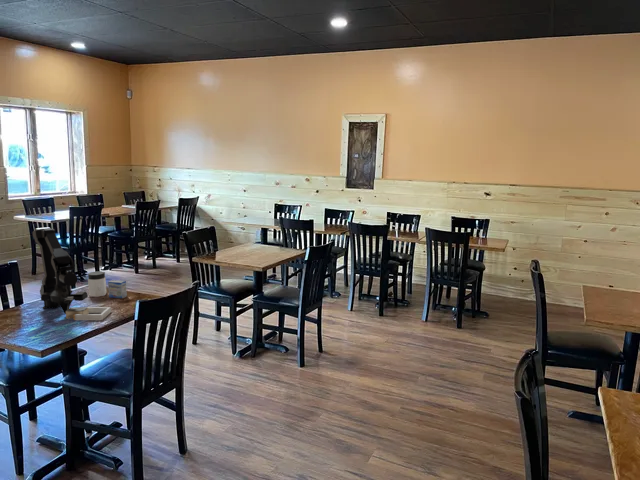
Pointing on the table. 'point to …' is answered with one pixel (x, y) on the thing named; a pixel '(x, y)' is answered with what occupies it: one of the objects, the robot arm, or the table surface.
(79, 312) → the grey beige block
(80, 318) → the frame
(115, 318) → the table surface
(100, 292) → the jar
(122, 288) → the medicine box
